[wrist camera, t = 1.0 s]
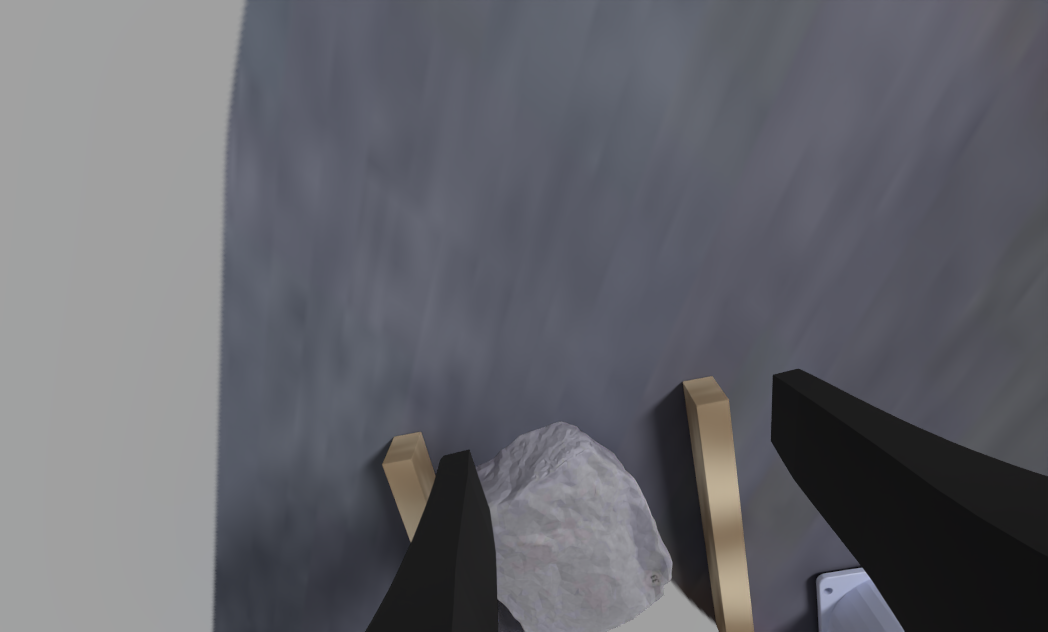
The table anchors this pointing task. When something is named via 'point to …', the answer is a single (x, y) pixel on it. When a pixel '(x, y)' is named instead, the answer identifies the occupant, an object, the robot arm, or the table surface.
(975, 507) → the robot arm
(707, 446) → the pair of wooden posts
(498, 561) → the stone block
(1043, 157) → the table surface
